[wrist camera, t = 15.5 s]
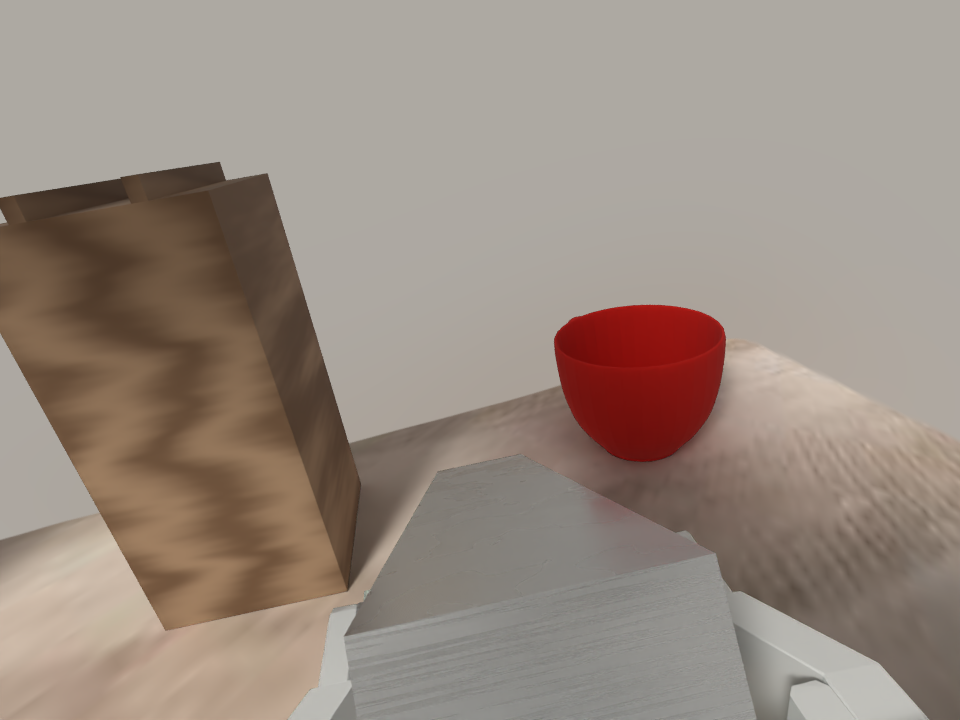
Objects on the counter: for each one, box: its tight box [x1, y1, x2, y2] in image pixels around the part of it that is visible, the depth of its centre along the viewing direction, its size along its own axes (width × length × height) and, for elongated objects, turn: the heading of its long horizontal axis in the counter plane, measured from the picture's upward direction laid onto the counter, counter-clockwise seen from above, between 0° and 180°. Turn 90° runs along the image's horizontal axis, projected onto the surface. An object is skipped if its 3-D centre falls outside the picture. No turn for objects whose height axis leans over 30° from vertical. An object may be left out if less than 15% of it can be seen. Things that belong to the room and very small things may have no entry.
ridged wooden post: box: [0, 162, 361, 631], centre depth 36 cm, size 12×12×27 cm
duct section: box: [344, 454, 757, 720], centre depth 15 cm, size 4×20×4 cm, turn 7°
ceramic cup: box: [554, 305, 726, 462], centre depth 46 cm, size 13×17×10 cm
